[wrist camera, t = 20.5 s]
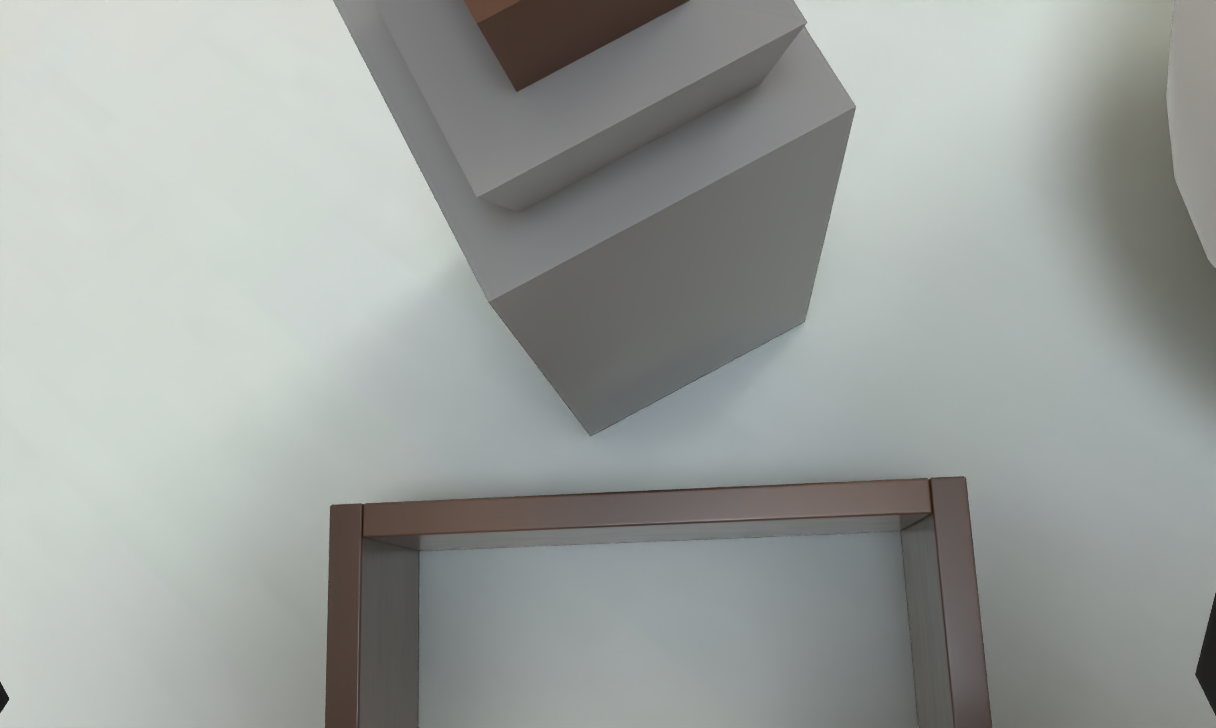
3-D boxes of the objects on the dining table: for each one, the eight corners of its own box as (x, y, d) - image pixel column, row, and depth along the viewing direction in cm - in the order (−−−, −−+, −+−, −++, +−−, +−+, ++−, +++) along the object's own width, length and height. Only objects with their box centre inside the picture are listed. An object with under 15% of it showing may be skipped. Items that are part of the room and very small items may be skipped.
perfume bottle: (689, 126, 33) (639, -427, 16) (804, 321, 31) (894, -55, 14) (485, 235, 33) (208, -199, 16) (590, 436, 31) (412, 201, 14)
